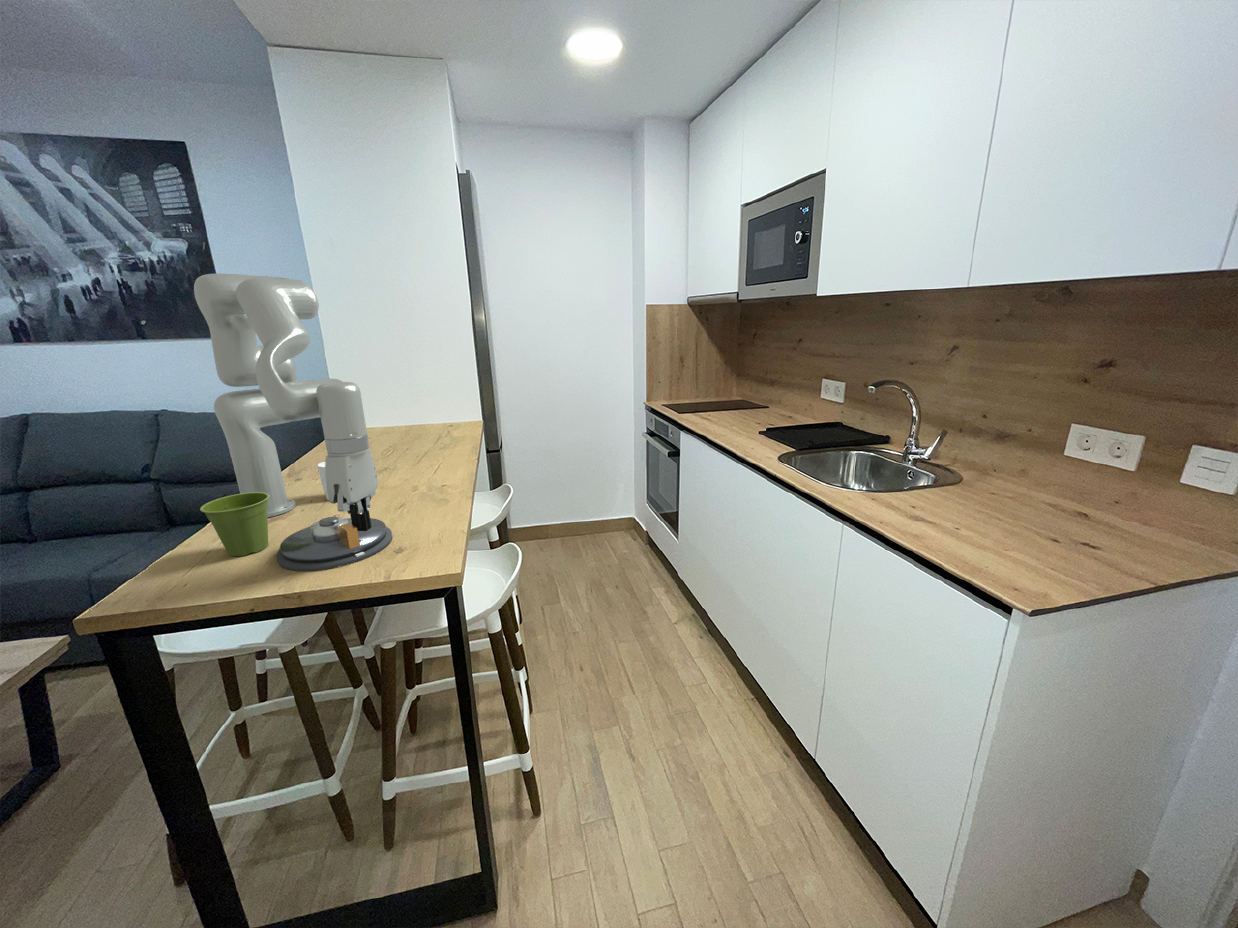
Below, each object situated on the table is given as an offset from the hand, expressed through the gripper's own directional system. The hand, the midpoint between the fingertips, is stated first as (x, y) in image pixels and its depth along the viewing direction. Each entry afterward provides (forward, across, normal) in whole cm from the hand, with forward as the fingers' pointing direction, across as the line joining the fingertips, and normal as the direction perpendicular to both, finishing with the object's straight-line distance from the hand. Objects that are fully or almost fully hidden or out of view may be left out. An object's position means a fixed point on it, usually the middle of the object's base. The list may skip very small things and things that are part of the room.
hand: (362, 529), depth 104 cm
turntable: (+4, -2, -8) cm, 9 cm away
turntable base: (+5, -2, -8) cm, 9 cm away
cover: (+2, -1, -8) cm, 8 cm away
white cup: (+6, -33, -30) cm, 44 cm away
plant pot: (+6, +1, -27) cm, 27 cm away
